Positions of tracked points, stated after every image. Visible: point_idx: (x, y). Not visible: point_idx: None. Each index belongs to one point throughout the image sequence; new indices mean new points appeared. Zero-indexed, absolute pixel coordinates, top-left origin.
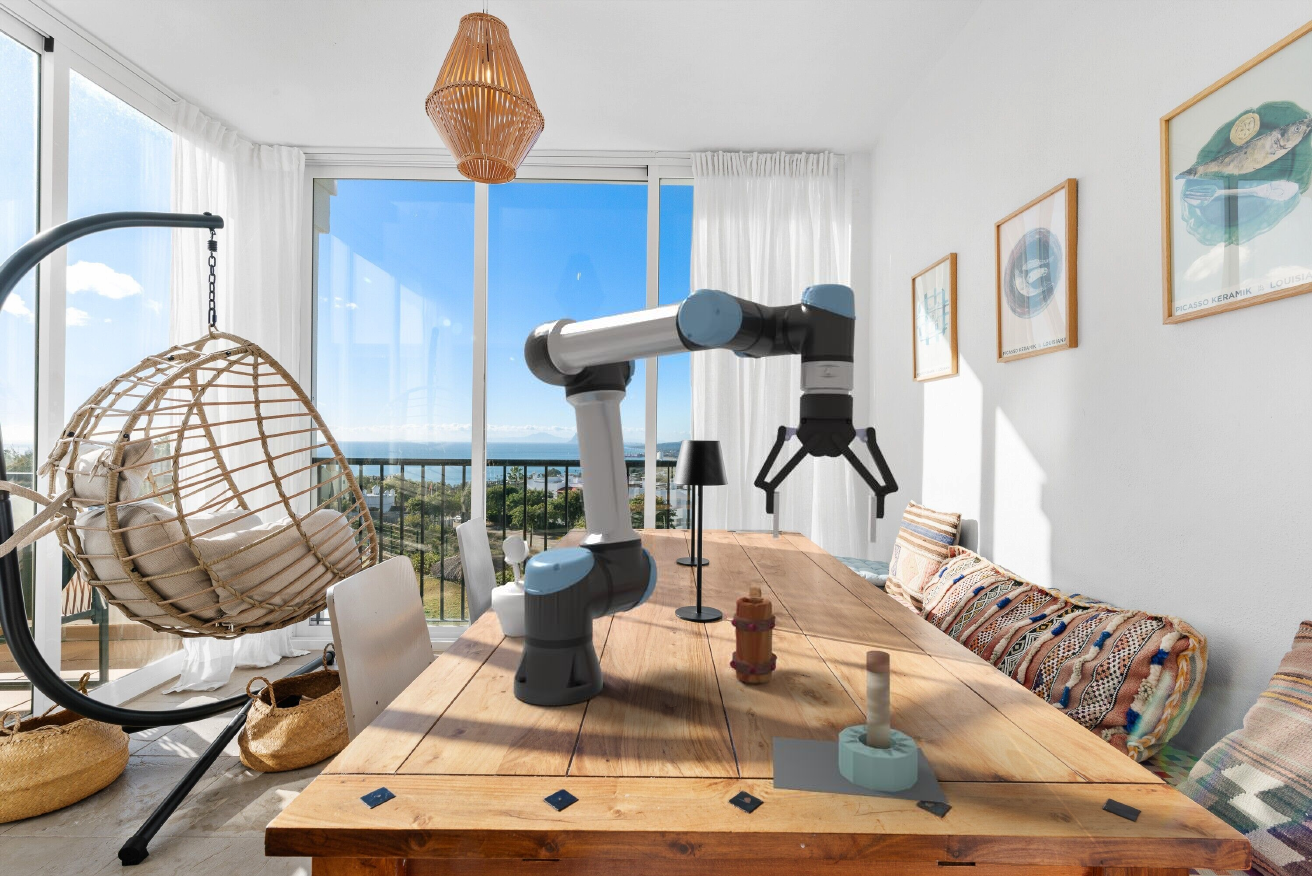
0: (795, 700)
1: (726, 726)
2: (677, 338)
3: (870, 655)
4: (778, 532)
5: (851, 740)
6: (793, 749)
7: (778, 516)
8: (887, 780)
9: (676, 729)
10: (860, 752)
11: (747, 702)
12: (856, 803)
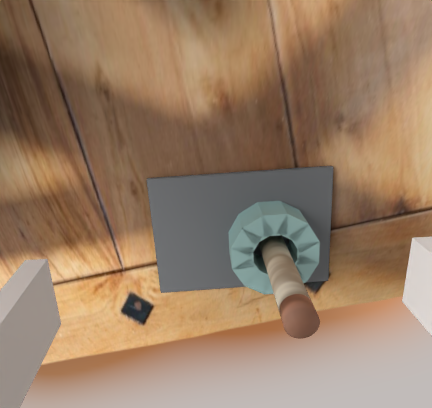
0: (168, 12)
1: (78, 145)
2: None
3: (288, 332)
4: (48, 301)
5: (245, 262)
6: (175, 207)
7: (26, 392)
8: None
9: (13, 171)
10: (252, 288)
11: (89, 42)
12: (241, 289)
